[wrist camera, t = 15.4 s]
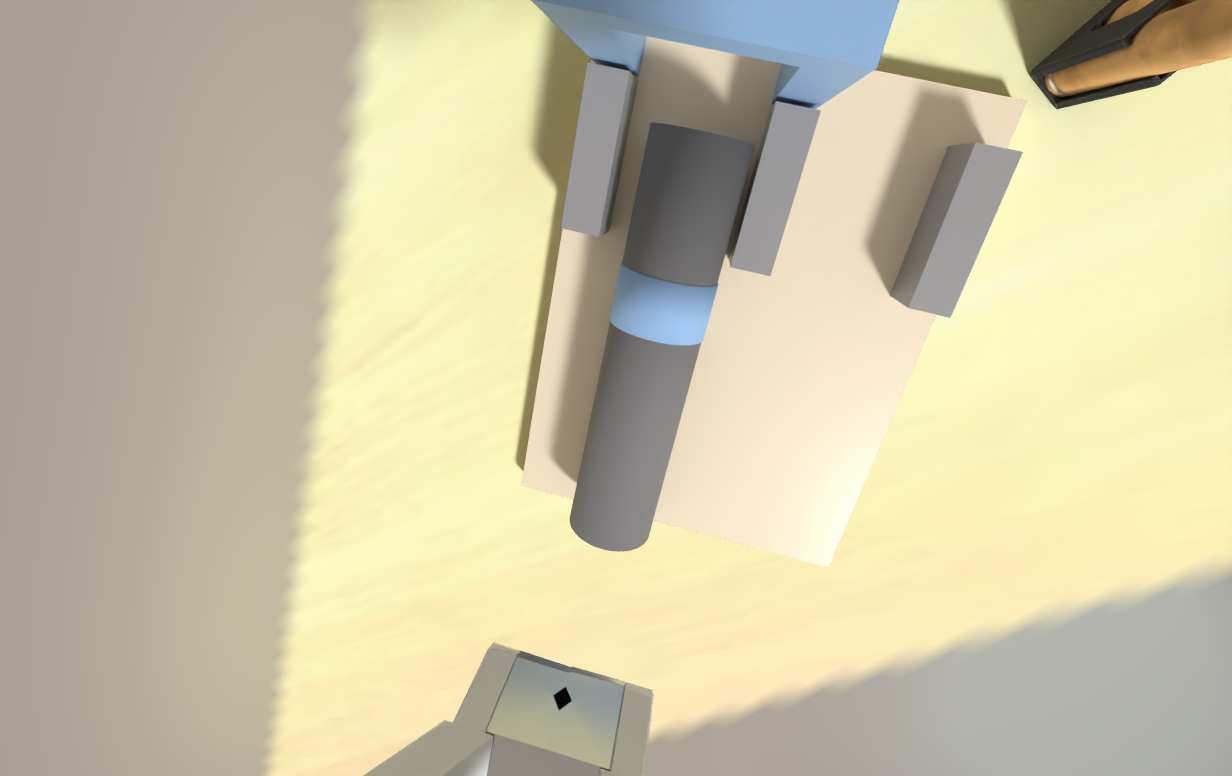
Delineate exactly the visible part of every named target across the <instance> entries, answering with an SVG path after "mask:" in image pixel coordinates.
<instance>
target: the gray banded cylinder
mask: <svg viewBox="0 0 1232 776" xmlns="http://www.w3.org/2000/svg"><path fill="white" fill-rule="evenodd" d="M754 147H755V145H754V144H751V143H748V142H745V141H742V140H738V139H735V138H731V137H727V136H723V135H718V134H714V133H710V132H705V131H700V130H696V129H691V128H686V127H680V126H675V125H669V124H662V123H650V128H649V133H648V138H647V143H646V147H645V152H644V157H643V162H642V167H641V172H640V177H639V182H638V187H637V191H636V196H635V201H634V206H633V211H632V216H631V221H630V226H629V231H628V236H627V240H626V245H625V250H624V255H623V260H622V261H621V264H620V269H619V274H618V279H617V283H616V288H615V293H614V298H613V303H612V308H611V313H610V318H609V320H610V324H609V329H608V334H607V338H606V343H605V348H604V353H603V358H602V363H601V368H600V373H599V378H598V383H597V387H596V392H595V397H594V402H593V407H592V412H591V417H590V422H589V427H588V432H587V436H586V441H585V446H584V451H583V456H582V461H581V466H580V471H579V476H578V481H577V485H576V490H575V495H574V500H573V505H572V510H571V515H570V524H571V527H572V529H573V530H574V532H575V533H576V534H577V535H578V536H579V537H580V538H581V539H582V540H584V541H585V542H587V543H589V544H590V545H593V546H595V547H598V548H601V549H604V550H609V551H629V550H633V549H636V548H638V547H640V546H642V545H643V544H644V543H645V542H646V541H647V539H648V537H649V533H650V530H651V526H652V522H653V518H654V515H655V511H656V507H657V504H658V500H659V496H660V493H661V489H662V485H663V482H664V478H665V474H666V471H667V467H668V463H669V460H670V456H671V452H672V449H673V445H674V441H675V438H676V434H677V430H678V427H679V423H680V419H681V415H682V412H683V408H684V404H685V401H686V397H687V393H688V390H689V386H690V382H691V379H692V375H693V371H694V368H695V364H696V360H697V357H698V353H699V349H700V346H701V342H702V341H703V339H704V335H705V332H706V328H707V324H708V321H709V317H710V313H711V310H712V306H713V302H714V299H715V295H716V291H717V288H718V279H719V276H720V272H721V268H722V265H723V261H724V257H725V254H726V250H727V246H728V243H729V239H730V235H731V232H732V228H733V224H734V221H735V217H736V213H737V209H738V206H739V202H740V198H741V195H742V191H743V187H744V184H745V180H746V176H747V173H748V169H749V165H750V162H751V158H752V154H753V151H754Z"/></svg>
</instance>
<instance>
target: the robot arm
mask: <svg viewBox="0 0 1232 776" xmlns="http://www.w3.org/2000/svg"><path fill="white" fill-rule="evenodd" d="M652 704H653V692H652V690H650V689H647V688H643V687H640V686H636V685H633V684H630V683H626V682H625V684H624V681H621V680H618V679H614V678H610V677H607V676H603V675H600V674H596V673H593V672H589V671H586V670H582V669H579V668H575V667H568V666H565V665H562V664H559V663H556V662H553V661H550V660H547V659H544V658H541V657H538V656H535V655H532V654H529V653H526V652H523V651H519V650H516V649H513V648H509V647H506V646H503V645H500V644H497V643H494V642H493V644H492V645H491V646H490V647H489V649H488V650H487V652H486V654H485V657H484V659H483V661H482V663H481V665H480V667H479V669H478V671H477V673H476V675H475V677H474V680H473V682H472V684H471V686H470V688H469V690H468V692H467V694H466V696H465V698H464V700H463V703H462V705H461V707H460V709H459V711H458V713H457V715H456V717H455V719H454V721H453V722H449V721H445V720H444V721H443V722H442V723H440V724H439V725H437V726H436V727H434V728H433V729H431V730H430V731H428V732H427V733H425V734H424V735H422V736H421V737H419V738H418V739H417V740H415V741H414V742H412V743H411V744H409V745H408V746H406V747H405V748H403V749H402V750H400V751H399V752H397V753H396V754H395V755H393V756H392V757H390V758H389V759H387V760H386V761H384V762H383V763H381V764H380V765H378V766H377V767H375V768H374V769H372V770H371V771H370V772H368V773H367V774H365V775H364V776H644V772H645V765H646V756H647V747H648V739H649V730H650V722H651V713H652Z"/></svg>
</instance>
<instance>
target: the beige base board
mask: <svg viewBox="0 0 1232 776" xmlns="http://www.w3.org/2000/svg"><path fill="white" fill-rule="evenodd" d="M781 67H782V63H777V62H772V61H767V60H762V59H757V58H752V57H747V56H742V55H737V54H732V53H727V52H722V51H717V50H712V49H707V48H702V47H697V46H693V45H688V44H683V43H678V42H673V41H668V40H663V39H658V38H653V37H648V36H647V37H646V43H645V48H644V53H643V58H642V63H641V69H640V74H639V76H636V75H632V73H631V72H630V71H628V70H623V69H618V68H613V67H608V66H603V65H598V64H596V63H595V62H594V61H593V60H592V59H591V58H590V62H587V67H586V73H585V79H584V85H583V92H582V98H581V104H580V110H579V117H578V123H577V129H576V135H575V142H574V148H573V154H572V160H571V167H570V173H569V179H568V185H567V192H566V198H565V204H564V210H563V217H562V223H561V228H562V235H561V242H560V248H559V254H558V260H557V266H556V273H555V279H554V285H553V291H552V297H551V304H550V310H549V316H548V322H547V328H546V335H545V341H544V347H543V353H542V359H541V366H540V372H539V378H538V384H537V390H536V397H535V403H534V409H533V415H532V421H531V427H530V434H529V440H528V446H527V452H526V458H525V465H524V471H523V477H522V483H521V486H525V487H529V488H532V489H536V490H540V491H544V492H547V493H551V494H555V495H559V496H562V497H566V498H570V499H574V495H575V490H576V485H577V481H578V476H579V471H580V466H581V461H582V456H583V451H584V446H585V441H586V436H587V432H588V427H589V422H590V417H591V412H592V407H593V402H594V397H595V392H596V387H597V383H598V378H599V373H600V368H601V363H602V358H603V353H604V348H605V343H606V338H607V334H608V329H609V324H610V320H609V318H610V313H611V308H612V303H613V298H614V293H615V288H616V283H617V279H618V274H619V269H620V264H621V261H622V260H623V255H624V250H625V245H626V240H627V236H628V231H629V226H630V221H631V216H632V211H633V206H634V201H635V196H636V191H637V187H638V182H639V177H640V172H641V167H642V162H643V157H644V152H645V147H646V143H647V138H648V133H649V128H650V123H662V124H669V125H675V126H680V127H686V128H691V129H696V130H700V131H705V132H710V133H714V134H718V135H723V136H727V137H731V138H735V139H738V140H742V141H745V142H748V143H751V144H754V145H755V147H754V151H753V154H752V158H751V162H750V165H749V169H748V173H747V176H746V180H745V184H744V187H743V191H742V195H741V198H740V202H739V206H738V209H737V213H736V217H735V221H734V224H733V228H732V232H731V235H730V239H729V243H728V246H727V250H726V254H725V257H724V261H723V265H722V268H721V272H720V276H719V279H718V288H717V291H716V295H715V299H714V302H713V306H712V310H711V313H710V317H709V321H708V324H707V328H706V332H705V335H704V339H703V341H702V342H701V346H700V349H699V353H698V357H697V360H696V364H695V368H694V371H693V375H692V379H691V382H690V386H689V390H688V393H687V397H686V401H685V404H684V408H683V412H682V415H681V419H680V423H679V427H678V430H677V434H676V438H675V441H674V445H673V449H672V452H671V456H670V460H669V463H668V467H667V471H666V474H665V478H664V482H663V485H662V489H661V493H660V496H659V500H658V504H657V507H656V511H655V515H654V518H653V521H656V522H660V523H663V524H667V525H671V526H675V527H678V528H682V529H686V530H690V531H693V532H697V533H701V534H705V535H708V536H712V537H716V538H720V539H723V540H727V541H731V542H735V543H738V544H742V545H746V546H750V547H753V548H757V549H761V550H765V551H768V552H772V553H776V554H780V555H783V556H787V557H791V558H795V559H798V560H802V561H806V562H809V563H813V564H817V565H821V566H824V567H829V564H830V562H831V560H832V557H833V555H834V553H835V550H836V548H837V546H838V543H839V541H840V539H841V536H842V534H843V532H844V529H845V527H846V525H847V522H848V520H849V518H850V515H851V513H852V511H853V508H854V506H855V504H856V501H857V499H858V497H859V494H860V492H861V489H862V487H863V485H864V482H865V480H866V478H867V475H868V473H869V471H870V468H871V466H872V464H873V461H874V459H875V457H876V454H877V452H878V450H879V447H880V445H881V443H882V440H883V438H884V436H885V433H886V431H887V429H888V426H889V424H890V422H891V419H892V417H893V414H894V412H895V410H896V407H897V405H898V403H899V400H900V398H901V396H902V393H903V391H904V389H905V386H906V384H907V382H908V379H909V377H910V375H911V372H912V370H913V368H914V365H915V363H916V361H917V358H918V356H919V354H920V351H921V349H922V347H923V344H924V342H925V339H926V337H927V335H928V332H929V330H930V328H931V325H932V323H933V321H934V318H935V316H936V315H940V316H945V317H949V318H950V317H951V315H952V313H953V310H954V308H955V306H956V304H957V301H958V299H959V297H960V294H961V292H962V290H963V288H964V285H965V283H966V281H967V278H968V276H969V274H970V272H971V269H972V267H973V265H974V262H975V260H976V258H977V256H978V253H979V251H980V249H981V246H982V244H983V242H984V240H985V237H986V235H987V233H988V230H989V228H990V226H991V224H992V221H993V219H994V217H995V214H996V212H997V210H998V208H999V205H1000V203H1001V201H1002V198H1003V196H1004V194H1005V191H1006V189H1007V187H1008V185H1009V182H1010V180H1011V178H1012V175H1013V173H1014V171H1015V169H1016V166H1017V164H1018V162H1019V159H1020V157H1021V155H1022V153H1023V152H1020V151H1015V150H1010V149H1007V147H1008V145H1009V143H1010V140H1011V138H1012V136H1013V133H1014V131H1015V129H1016V126H1017V124H1018V122H1019V119H1020V117H1021V114H1022V112H1023V110H1024V107H1025V105H1026V103H1027V100H1022V99H1017V98H1012V97H1007V96H1002V95H997V94H992V93H987V92H982V91H977V90H972V89H967V88H962V87H957V86H952V85H947V84H942V83H937V82H932V81H927V80H922V79H917V78H912V77H907V76H902V75H896V74H891V73H886V72H881V71H876V70H874V71H872V72H871V73H869V74H868V75H866V76H865V77H863V78H862V79H860V80H859V81H857V82H856V83H854V84H853V85H851V86H850V87H848V88H847V89H845V90H844V91H842V92H841V93H839V94H838V95H836V96H835V97H833V98H832V99H830V100H829V101H827V102H826V103H824V104H823V105H821V106H820V107H818V108H817V109H812V108H807V107H802V106H797V105H792V104H787V103H783V102H778V101H776V102H775V103H774V104H771V103H772V99H773V96H774V92H775V88H776V85H777V81H778V78H779V74H780V70H781Z"/></svg>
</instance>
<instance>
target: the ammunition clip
mask: <svg viewBox="0 0 1232 776" xmlns="http://www.w3.org/2000/svg"><path fill="white" fill-rule="evenodd" d="M1231 57H1232V0H1112V1H1111V2H1110V3H1109V4H1108V5H1107V6H1105V7H1104V8H1103V9H1102V10H1101V11H1100V12H1098V13H1097V14H1096V15H1095V16H1094V17H1093V18H1092V19H1090V20H1089V21H1088V22H1087V23H1086V24H1085V25H1084V26H1082V27H1081V28H1080V29H1079V30H1078V31H1077V32H1075V33H1074V34H1073V35H1072V36H1071V37H1070V38H1069V39H1067V40H1066V41H1065V42H1064V43H1063V44H1062V45H1060V46H1059V47H1058V48H1057V49H1056V50H1055V51H1054V52H1052V53H1051V54H1050V55H1049V56H1048V57H1047V58H1046V59H1044V60H1043V61H1042V62H1041V63H1040V64H1039V65H1037V66H1036V67H1035V68H1034V69H1033V70H1032V73H1031V77H1032V78H1033V80H1034V81H1035V82H1036V83H1037V85H1038V86H1039V87H1040V89H1041V90H1042V91H1043V92H1044V94H1045V95H1046V96H1047V98H1048V99H1049V100H1050V101H1051V103H1052V104H1053V105H1054V107H1055V108H1056V109H1060V108H1064V107H1069V106H1073V105H1077V104H1081V103H1086V102H1090V101H1094V100H1099V99H1103V98H1107V97H1111V96H1116V95H1120V94H1124V93H1129V92H1133V91H1137V90H1142V89H1146V88H1150V87H1154V86H1158V85H1160V84H1161V83H1162V82H1163V81H1165V80H1166V79H1167V78H1168V77H1170V76H1171V75H1172V74H1173V73H1175V72H1176V71H1177V70H1181V69H1185V68H1189V67H1193V66H1197V65H1202V64H1206V63H1210V62H1214V61H1218V60H1223V59H1227V58H1231Z"/></svg>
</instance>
